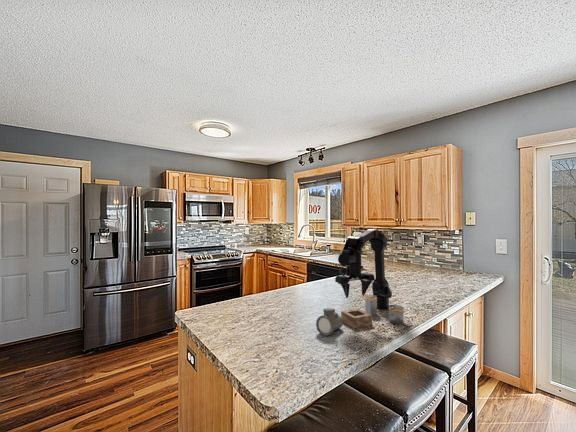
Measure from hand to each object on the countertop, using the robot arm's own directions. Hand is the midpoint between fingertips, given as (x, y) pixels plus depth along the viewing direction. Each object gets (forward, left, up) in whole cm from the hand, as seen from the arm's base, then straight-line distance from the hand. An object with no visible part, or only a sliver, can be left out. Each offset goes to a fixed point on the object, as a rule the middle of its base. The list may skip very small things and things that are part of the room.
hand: (355, 296), depth 130 cm
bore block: (0, +1, -12) cm, 12 cm away
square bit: (-15, -7, -12) cm, 21 cm away
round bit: (-18, +7, -12) cm, 23 cm away
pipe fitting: (+16, +4, -12) cm, 21 cm away
